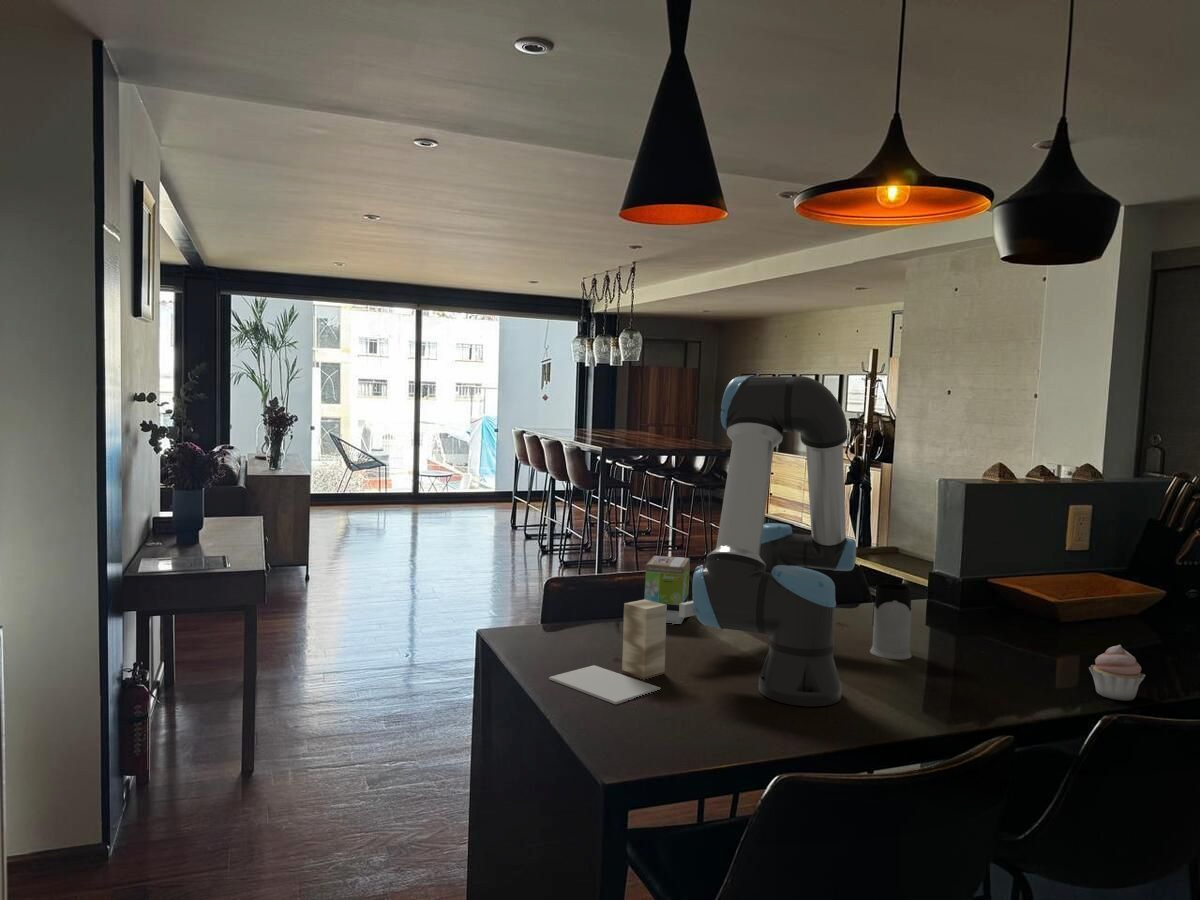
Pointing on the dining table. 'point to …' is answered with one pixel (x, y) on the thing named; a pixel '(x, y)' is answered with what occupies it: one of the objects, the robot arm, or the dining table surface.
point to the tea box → (668, 584)
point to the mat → (604, 684)
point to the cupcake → (1116, 674)
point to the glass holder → (892, 622)
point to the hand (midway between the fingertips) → (681, 610)
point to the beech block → (644, 639)
